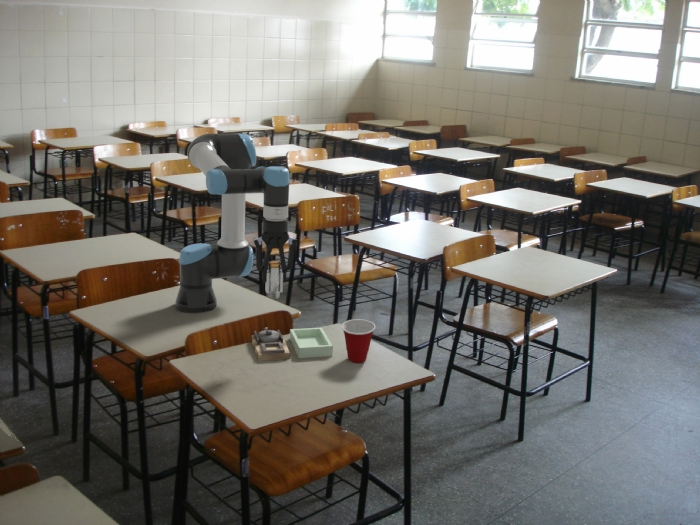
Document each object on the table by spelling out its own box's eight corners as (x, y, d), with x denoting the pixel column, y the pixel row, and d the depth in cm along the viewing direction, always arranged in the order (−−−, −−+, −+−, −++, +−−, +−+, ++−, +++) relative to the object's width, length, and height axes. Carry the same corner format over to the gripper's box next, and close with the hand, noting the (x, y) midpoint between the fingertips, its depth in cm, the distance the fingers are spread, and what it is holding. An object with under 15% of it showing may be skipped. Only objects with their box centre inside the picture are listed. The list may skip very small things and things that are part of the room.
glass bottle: (267, 294, 223) (267, 260, 220) (278, 294, 224) (279, 260, 221) (268, 298, 220) (269, 264, 216) (280, 298, 221) (281, 264, 217)
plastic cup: (332, 360, 226) (334, 325, 223) (352, 350, 235) (354, 316, 231) (360, 370, 220) (363, 334, 217) (379, 359, 229) (382, 324, 225)
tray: (289, 338, 241) (290, 329, 240) (321, 337, 244) (321, 327, 243) (299, 358, 226) (299, 348, 225) (332, 356, 229) (332, 346, 228)
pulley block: (251, 340, 237) (251, 327, 236) (281, 339, 240) (281, 325, 239) (258, 360, 223) (258, 346, 221) (289, 358, 225) (290, 344, 224)
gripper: (249, 221, 209) (248, 296, 216) (305, 221, 213) (302, 294, 220) (246, 215, 216) (245, 288, 223) (300, 215, 220) (297, 286, 227)
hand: (273, 291), depth 221 cm, fingers closed on glass bottle, 3 cm apart
